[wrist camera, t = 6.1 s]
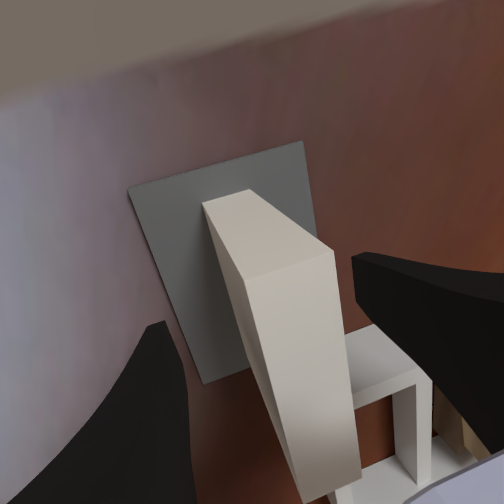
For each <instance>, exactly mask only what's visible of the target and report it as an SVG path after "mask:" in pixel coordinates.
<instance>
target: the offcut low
mask: <svg viewBox="0 0 504 504" xmlns="http://www.w3.org/2000/svg"><path fill="white" fill-rule="evenodd" d="M433 429H434V430H435V431H436V432H437V433H438V434H439V436H440V437H441V438H442V439H443V440H444V441H445V442H446V443H447V444H448V446H449V447H450V448H451V449H452V450H453V451H454V452H455V453H456V455H457V456H458V455H460V454H462V453H464V452H467V451H469V450H468V449H467V448H466V447H465V446H464V437H463V426H462V416H461V415H460V414H459V413H458V411H457V410H456V409H455V408H454V406H453V405H452V404H451V403H450V402H449V400H448V399H447V398H446V397H445V395H444V394H443V393H442V392H441V391H440V390H439V388H438V387H437V386H436V385H435V387H434V411H433Z"/></svg>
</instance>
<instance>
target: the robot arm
mask: <svg viewBox="0 0 504 504" xmlns="http://www.w3.org/2000/svg"><path fill="white" fill-rule="evenodd" d="M351 260H352V269H353V279H354V288H355V298H356V302H357V304H358V305H359V306H360V307H361V309H362V310H363V311H364V313H365V314H366V315H367V316H368V317H369V319H370V320H371V321H372V322H373V323H374V324H375V325H376V326H377V327H378V328H379V329H380V330H381V331H382V332H383V333H384V334H385V335H386V336H387V337H389V338H390V339H391V340H392V341H393V342H394V343H395V344H396V345H397V346H398V347H399V348H400V349H401V350H402V351H403V352H405V353H406V354H407V355H408V356H409V357H410V358H411V359H412V360H413V361H414V362H415V363H416V364H417V365H418V366H419V367H420V368H421V369H422V370H423V371H424V372H425V373H426V375H427V376H428V377H429V378H430V379H431V380H432V381H433V383H434V384H435V385H436V386H437V387H438V388H439V390H440V391H441V392H442V393H443V394H444V395H445V397H446V398H447V399H448V400H449V402H450V403H451V404H452V405H453V406H454V408H455V409H456V410H457V411H458V413H459V414H460V415H461V416H462V417H463V419H464V420H465V421H466V423H467V424H468V425H469V426H470V428H471V429H472V430H473V432H474V433H475V434H476V436H477V437H478V438H479V439H480V441H481V442H482V443H483V445H484V446H485V447H486V449H487V450H488V451H489V453H490V454H491V456H489V457H487V458H484V459H482V460H480V461H478V462H476V463H474V464H472V465H470V466H468V467H465V468H463V469H461V470H459V471H457V472H455V473H453V474H451V475H449V476H447V477H444V478H442V479H440V480H438V481H436V482H434V483H432V484H430V485H428V486H427V487H425V488H423V489H422V490H420V491H419V492H417V493H416V494H414V495H413V496H411V497H410V498H408V499H407V500H405V501H404V502H403V503H402V504H504V273H490V272H480V271H470V270H461V269H454V268H448V267H442V266H436V265H430V264H425V263H420V262H415V261H410V260H406V259H401V258H396V257H392V256H387V255H382V254H377V253H371V252H364V253H361V254H358V255H355V256H352V257H351ZM7 504H197V500H196V493H195V486H194V479H193V472H192V464H191V453H190V432H189V410H188V391H187V385H186V379H185V373H184V368H183V363H182V361H181V359H180V356H179V354H178V351H177V349H176V346H175V344H174V341H173V339H172V337H171V334H170V332H169V329H168V327H167V324H166V322H165V320H164V321H161V322H158V323H155V324H152V325H149V326H147V328H146V330H145V331H144V333H143V335H142V337H141V339H140V341H139V343H138V345H137V346H136V348H135V350H134V352H133V354H132V356H131V357H130V359H129V361H128V363H127V365H126V366H125V368H124V370H123V371H122V373H121V375H120V376H119V378H118V379H117V381H116V383H115V384H114V386H113V387H112V389H111V390H110V392H109V393H108V395H107V396H106V398H105V399H104V400H103V402H102V403H101V404H100V406H99V407H98V408H97V410H96V411H95V412H94V414H93V415H92V416H91V417H90V419H89V420H88V421H87V422H86V424H85V425H84V426H83V427H82V428H81V429H80V430H79V432H78V433H77V434H76V435H75V436H74V437H73V438H72V440H71V441H70V442H69V443H68V444H67V445H66V446H65V447H64V449H63V450H62V451H61V452H60V453H59V454H58V455H57V456H56V457H55V458H54V459H53V460H52V461H51V462H50V463H49V464H48V465H47V466H46V467H45V468H44V469H43V470H42V471H41V472H40V473H39V474H38V475H37V476H36V477H35V478H34V479H33V480H32V481H31V482H30V483H29V484H28V485H27V486H26V487H25V488H24V489H23V490H22V491H21V492H19V493H18V494H17V495H16V496H15V497H14V498H13V499H12V500H11V501H9V502H8V503H7Z"/></svg>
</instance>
